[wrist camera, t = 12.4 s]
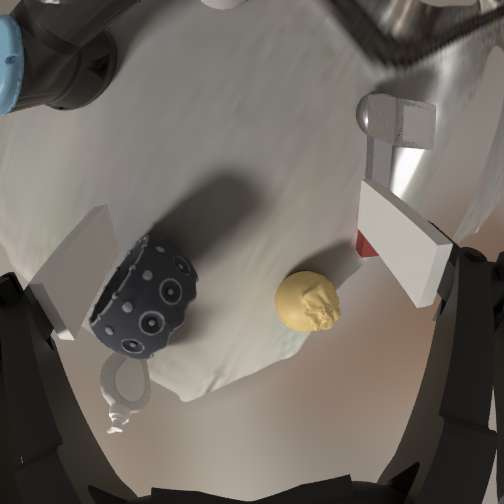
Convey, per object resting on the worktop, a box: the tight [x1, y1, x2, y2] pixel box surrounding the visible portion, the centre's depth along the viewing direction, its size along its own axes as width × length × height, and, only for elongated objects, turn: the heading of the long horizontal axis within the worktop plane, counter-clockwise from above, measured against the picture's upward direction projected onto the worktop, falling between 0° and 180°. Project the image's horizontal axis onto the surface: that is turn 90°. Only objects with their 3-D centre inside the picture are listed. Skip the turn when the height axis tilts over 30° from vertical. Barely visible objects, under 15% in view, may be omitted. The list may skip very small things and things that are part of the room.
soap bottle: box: [100, 352, 151, 433], centre depth 54 cm, size 13×8×24 cm, turn 43°
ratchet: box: [356, 93, 394, 258], centre depth 42 cm, size 30×8×8 cm, turn 4°
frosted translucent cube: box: [367, 95, 436, 150], centre depth 34 cm, size 7×7×9 cm
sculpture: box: [275, 271, 341, 332], centre depth 53 cm, size 12×12×11 cm
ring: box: [89, 235, 198, 359], centre depth 44 cm, size 11×20×20 cm, turn 134°
